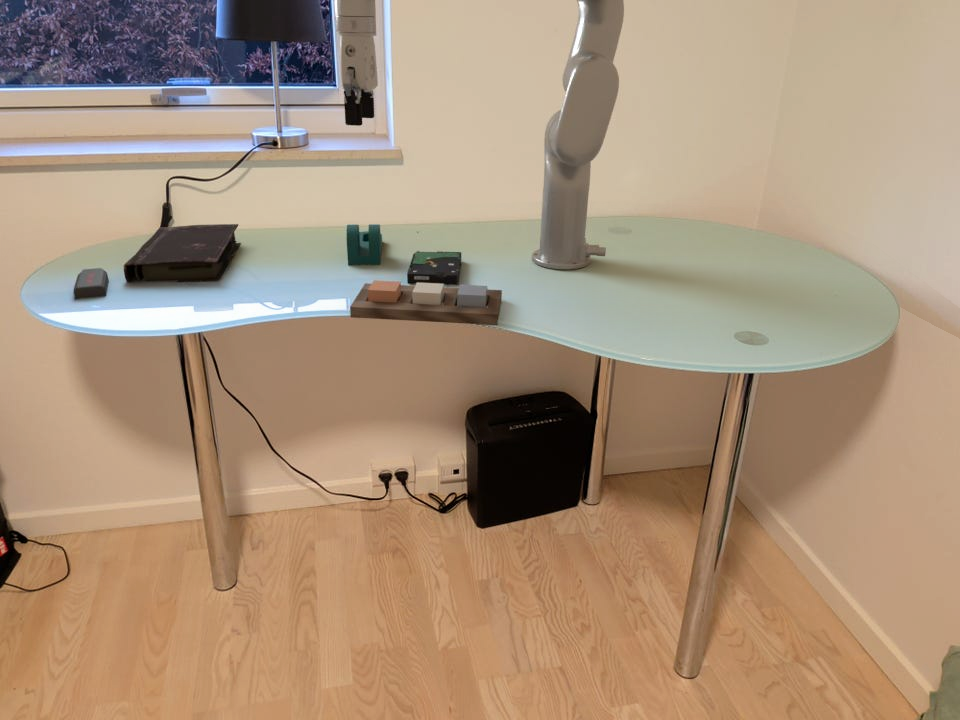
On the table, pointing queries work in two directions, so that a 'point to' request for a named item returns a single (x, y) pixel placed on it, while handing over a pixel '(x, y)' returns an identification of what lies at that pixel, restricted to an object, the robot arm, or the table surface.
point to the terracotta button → (384, 291)
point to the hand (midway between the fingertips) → (360, 121)
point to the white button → (428, 293)
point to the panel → (428, 308)
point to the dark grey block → (91, 283)
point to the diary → (184, 254)
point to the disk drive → (435, 268)
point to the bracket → (364, 245)
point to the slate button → (472, 296)
